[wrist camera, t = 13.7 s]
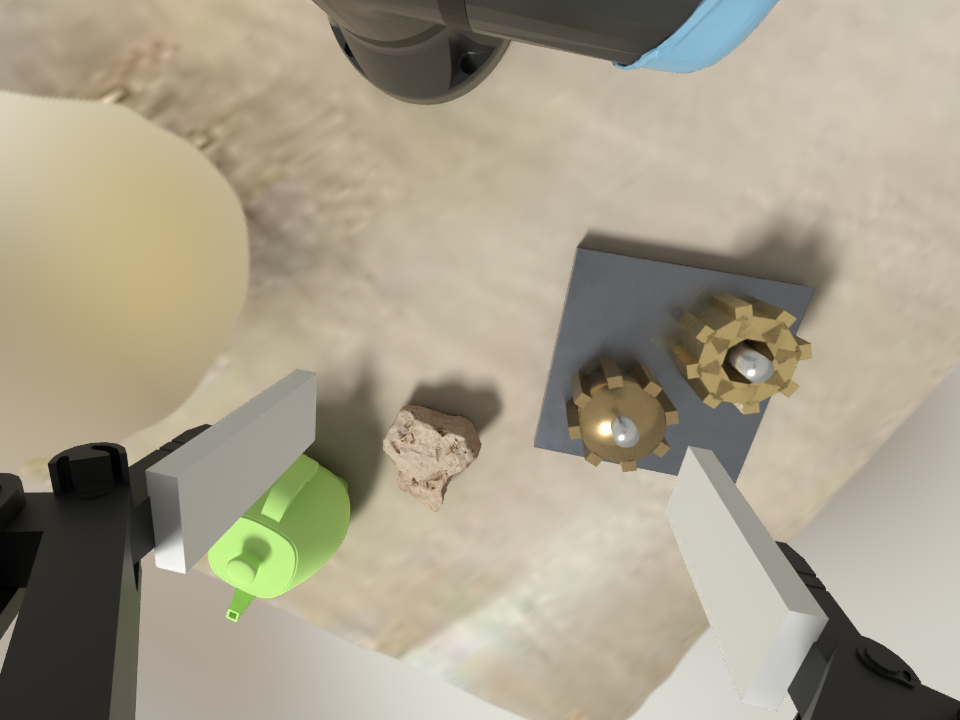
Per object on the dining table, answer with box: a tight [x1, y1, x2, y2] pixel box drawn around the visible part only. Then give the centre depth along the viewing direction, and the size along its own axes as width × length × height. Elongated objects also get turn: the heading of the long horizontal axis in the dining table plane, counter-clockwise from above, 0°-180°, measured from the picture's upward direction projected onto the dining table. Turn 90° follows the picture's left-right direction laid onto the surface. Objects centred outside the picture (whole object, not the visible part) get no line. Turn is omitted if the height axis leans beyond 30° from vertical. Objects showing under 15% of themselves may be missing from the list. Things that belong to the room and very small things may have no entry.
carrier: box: [534, 247, 815, 483], centre depth 40 cm, size 20×20×8 cm
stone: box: [383, 405, 481, 512], centre depth 47 cm, size 9×11×5 cm
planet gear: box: [670, 293, 812, 415], centre depth 38 cm, size 9×9×5 cm
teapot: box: [208, 454, 351, 622], centre depth 48 cm, size 20×13×13 cm
